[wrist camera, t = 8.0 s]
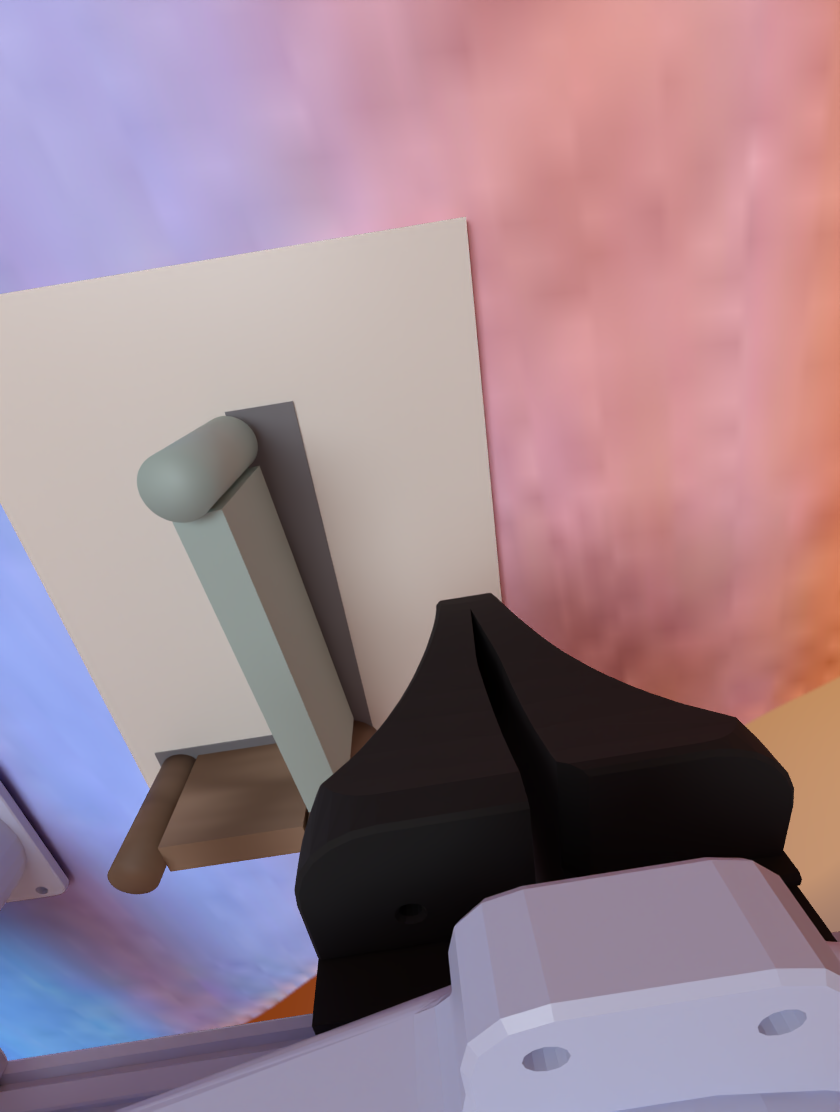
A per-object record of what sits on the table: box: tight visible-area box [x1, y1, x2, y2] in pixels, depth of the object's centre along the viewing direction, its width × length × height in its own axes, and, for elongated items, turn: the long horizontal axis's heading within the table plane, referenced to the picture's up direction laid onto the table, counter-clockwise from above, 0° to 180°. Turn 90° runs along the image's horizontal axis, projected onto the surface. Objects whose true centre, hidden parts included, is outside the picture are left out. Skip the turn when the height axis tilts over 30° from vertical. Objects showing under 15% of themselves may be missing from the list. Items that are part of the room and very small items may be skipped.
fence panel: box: [137, 416, 354, 812], centre depth 15 cm, size 12×2×4 cm, turn 13°
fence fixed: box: [108, 720, 377, 894], centre depth 18 cm, size 9×2×6 cm, turn 98°
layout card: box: [0, 217, 502, 788], centre depth 18 cm, size 15×20×1 cm
